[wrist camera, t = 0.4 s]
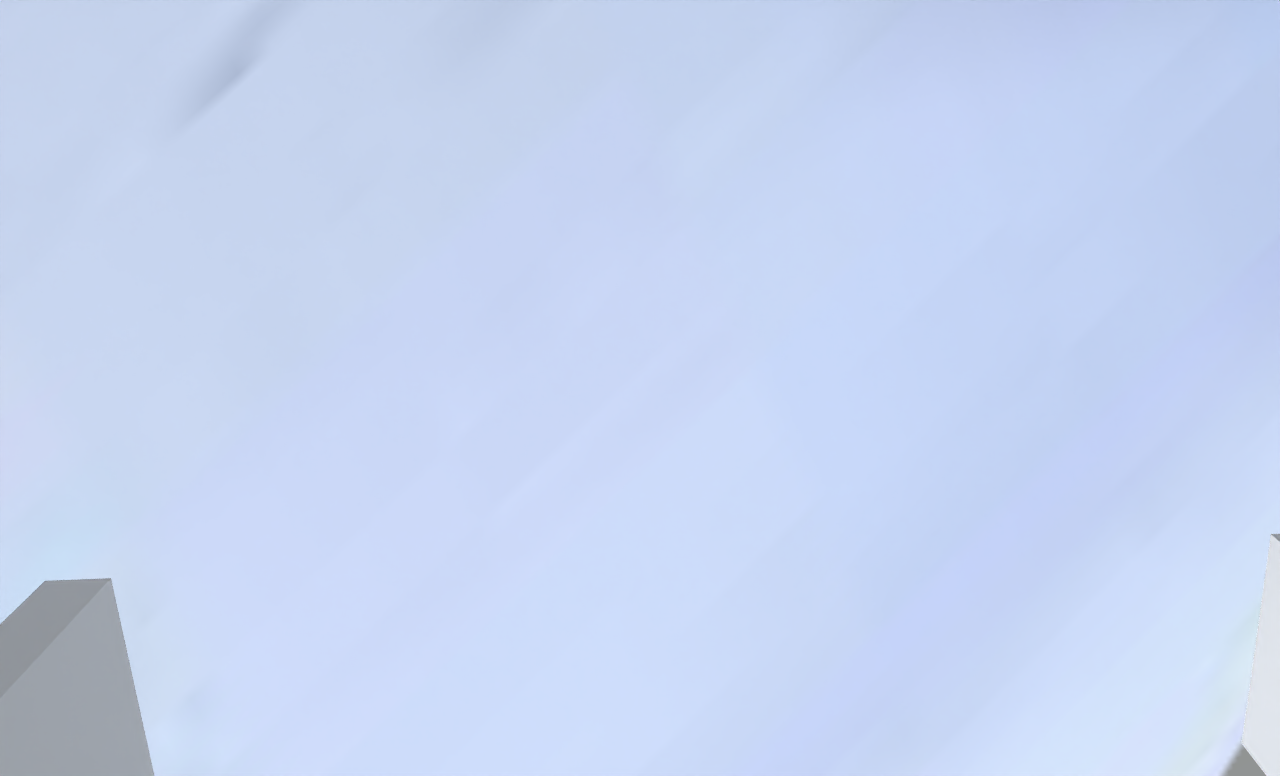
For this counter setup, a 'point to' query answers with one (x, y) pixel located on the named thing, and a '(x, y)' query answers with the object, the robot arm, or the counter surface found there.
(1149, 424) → the counter surface
